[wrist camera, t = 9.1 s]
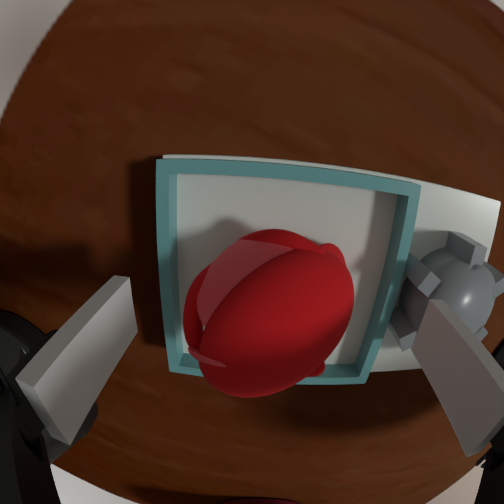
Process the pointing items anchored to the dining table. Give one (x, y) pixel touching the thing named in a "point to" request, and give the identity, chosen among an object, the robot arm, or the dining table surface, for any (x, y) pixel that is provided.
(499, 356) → the wine glass
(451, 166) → the dining table surface
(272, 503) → the canister
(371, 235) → the carrier board
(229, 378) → the cap
